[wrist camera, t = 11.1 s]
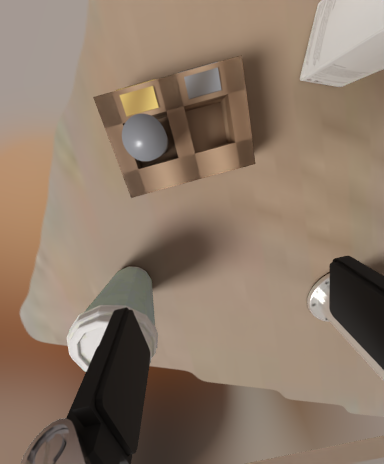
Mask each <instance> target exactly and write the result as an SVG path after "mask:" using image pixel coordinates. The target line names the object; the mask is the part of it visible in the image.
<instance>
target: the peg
mask: <svg viewBox="0 0 384 464" xmlns="http://www.w3.org/2000/svg"><path fill="white" fill-rule="evenodd" d="M122 141H123V145H124V147H125V149H126V150H127V152H128V153H129V154H130V155H131V156H132V157H134V158H135V159H137V160H140V161H152V160H154V159H156V158H158V157H160V156H162V155H163V154H164V153H165V152H166V151H167V149H168V145H169V142H168V138H167V135H166V133H165V130H164V128H163V126H162V125H161V123H160V122H159V121H158V120H157V119H156V118H155V117H153V116H151V115H148V114H136V115H133V116H132V117H130V118H129V119H128V120H127V121H126V123H125V124H124V126H123V130H122Z"/></svg>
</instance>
